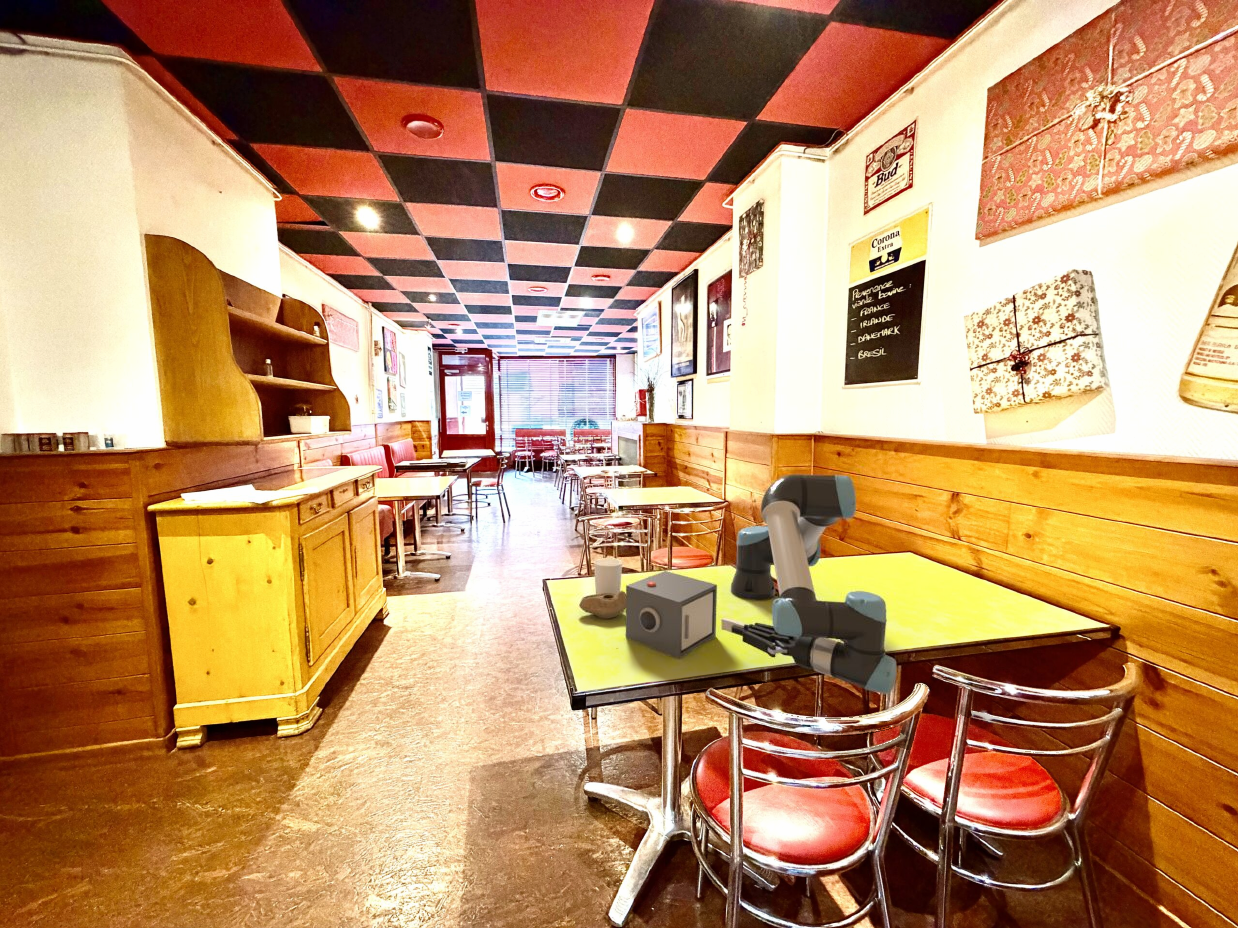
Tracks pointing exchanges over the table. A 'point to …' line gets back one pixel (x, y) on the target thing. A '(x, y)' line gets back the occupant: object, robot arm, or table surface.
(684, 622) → the side door
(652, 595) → the cabinet with door
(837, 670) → the robot arm
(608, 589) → the candle holder
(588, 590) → the table surface
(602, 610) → the oil lamp
